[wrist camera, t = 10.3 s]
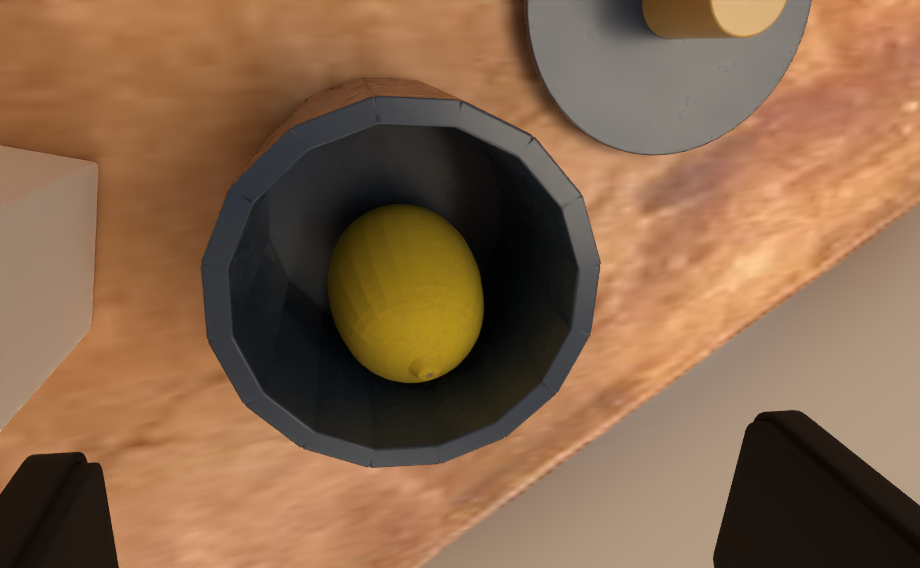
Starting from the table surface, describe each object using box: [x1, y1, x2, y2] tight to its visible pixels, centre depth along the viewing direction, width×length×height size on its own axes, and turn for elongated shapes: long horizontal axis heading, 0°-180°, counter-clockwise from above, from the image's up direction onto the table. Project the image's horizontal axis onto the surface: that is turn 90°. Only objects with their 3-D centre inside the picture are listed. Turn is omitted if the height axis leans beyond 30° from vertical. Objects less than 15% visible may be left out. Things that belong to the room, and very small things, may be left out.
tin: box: [201, 78, 601, 468], centre depth 22 cm, size 11×11×10 cm
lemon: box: [327, 204, 484, 383], centre depth 23 cm, size 6×6×8 cm
